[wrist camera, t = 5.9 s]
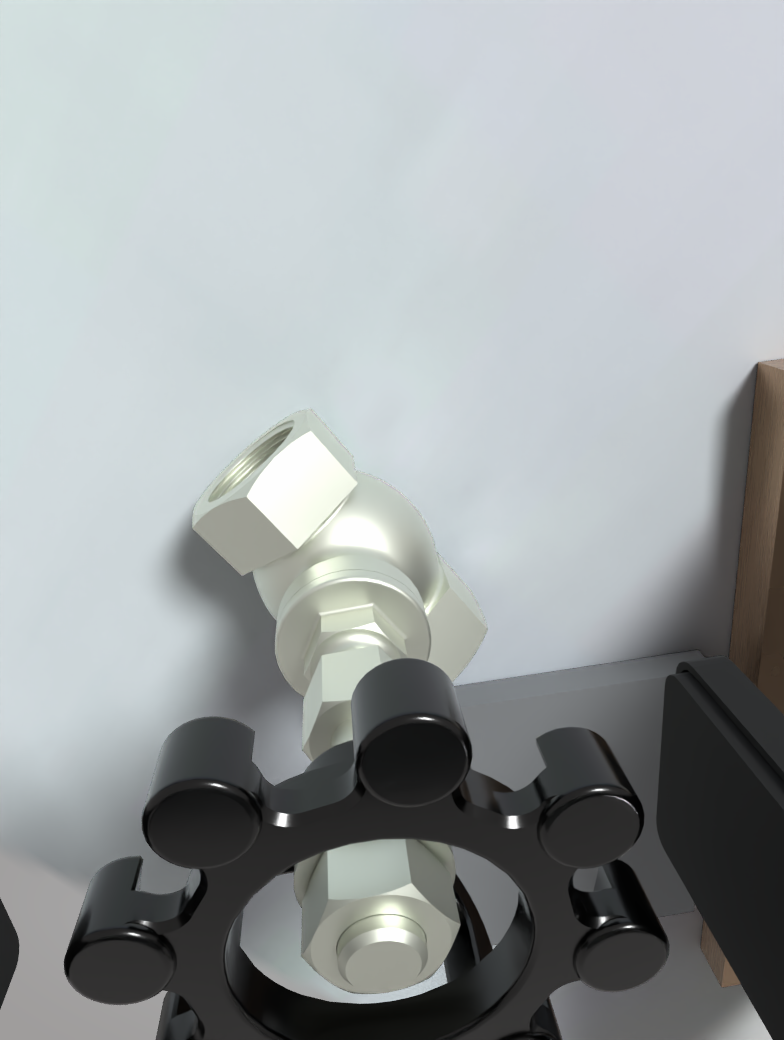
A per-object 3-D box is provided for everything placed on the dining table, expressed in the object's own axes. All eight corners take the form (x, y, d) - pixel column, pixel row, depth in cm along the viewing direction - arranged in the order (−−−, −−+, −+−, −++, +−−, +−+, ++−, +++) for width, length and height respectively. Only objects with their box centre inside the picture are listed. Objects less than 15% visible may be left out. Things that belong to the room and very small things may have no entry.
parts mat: (698, 649, 21) (715, 668, 20) (680, 886, 25) (693, 911, 24) (368, 699, 21) (370, 720, 20) (402, 932, 25) (405, 959, 24)
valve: (329, 676, 20) (345, 1209, 9) (160, 516, 18) (-86, 976, 7) (514, 538, 19) (779, 959, 8) (359, 348, 17) (444, 582, 6)
